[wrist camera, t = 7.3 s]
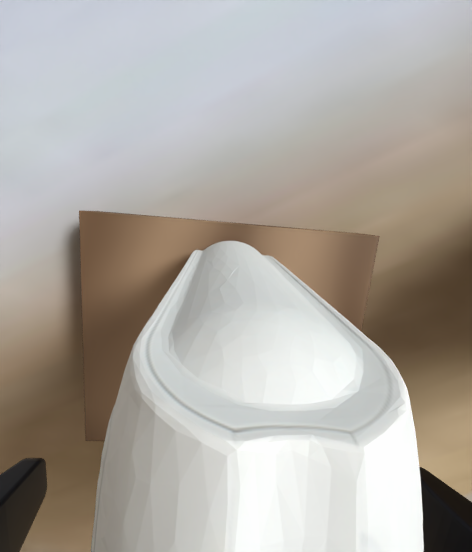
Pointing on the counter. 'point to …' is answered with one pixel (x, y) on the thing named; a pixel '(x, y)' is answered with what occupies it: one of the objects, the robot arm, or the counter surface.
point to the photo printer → (256, 424)
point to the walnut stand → (166, 267)
